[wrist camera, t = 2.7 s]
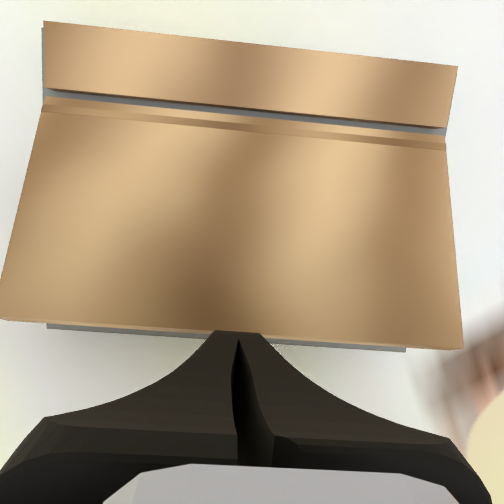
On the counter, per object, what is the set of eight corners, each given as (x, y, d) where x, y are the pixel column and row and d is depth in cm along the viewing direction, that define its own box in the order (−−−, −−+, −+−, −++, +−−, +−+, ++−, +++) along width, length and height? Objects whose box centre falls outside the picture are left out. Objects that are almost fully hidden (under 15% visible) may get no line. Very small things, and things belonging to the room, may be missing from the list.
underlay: (444, 77, 18) (457, 72, 17) (397, 342, 20) (405, 352, 19) (52, 35, 17) (41, 27, 16) (56, 319, 19) (46, 328, 18)
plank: (431, 149, 17) (445, 135, 16) (447, 350, 15) (464, 348, 14) (55, 113, 16) (44, 95, 15) (7, 320, 14) (-9, 316, 13)
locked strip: (444, 71, 17) (458, 66, 16) (434, 129, 17) (446, 127, 16) (55, 29, 16) (43, 20, 15) (56, 91, 16) (44, 87, 15)
